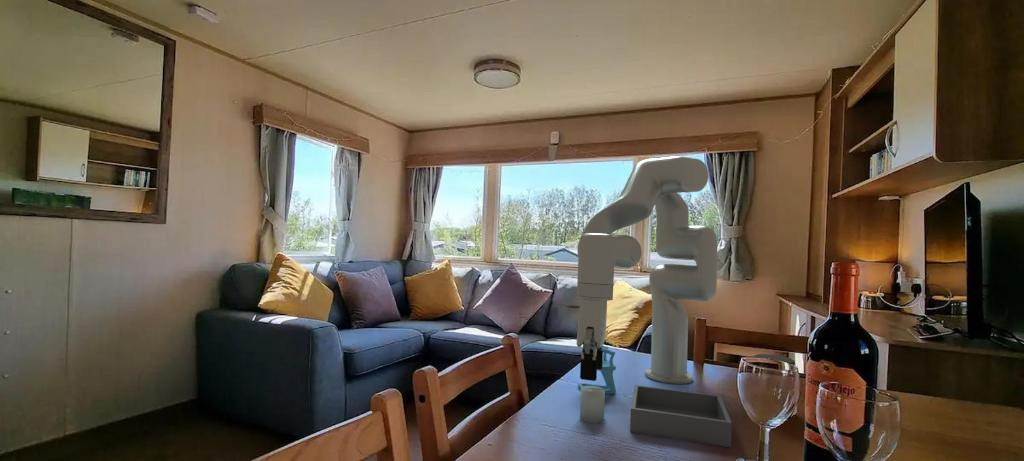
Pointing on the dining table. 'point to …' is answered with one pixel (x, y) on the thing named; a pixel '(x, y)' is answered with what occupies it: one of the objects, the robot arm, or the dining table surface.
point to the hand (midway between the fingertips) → (591, 373)
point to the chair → (605, 373)
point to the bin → (680, 415)
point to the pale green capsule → (592, 404)
